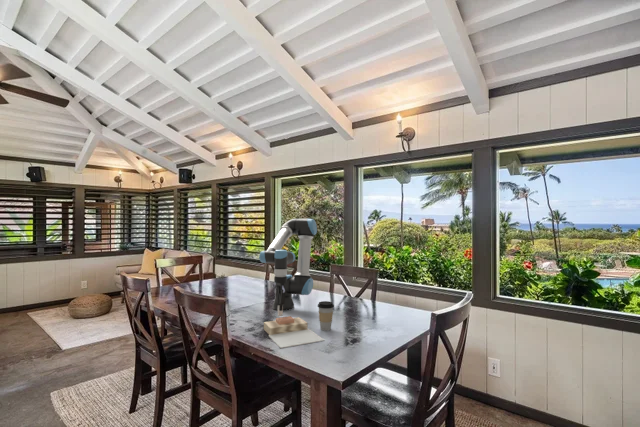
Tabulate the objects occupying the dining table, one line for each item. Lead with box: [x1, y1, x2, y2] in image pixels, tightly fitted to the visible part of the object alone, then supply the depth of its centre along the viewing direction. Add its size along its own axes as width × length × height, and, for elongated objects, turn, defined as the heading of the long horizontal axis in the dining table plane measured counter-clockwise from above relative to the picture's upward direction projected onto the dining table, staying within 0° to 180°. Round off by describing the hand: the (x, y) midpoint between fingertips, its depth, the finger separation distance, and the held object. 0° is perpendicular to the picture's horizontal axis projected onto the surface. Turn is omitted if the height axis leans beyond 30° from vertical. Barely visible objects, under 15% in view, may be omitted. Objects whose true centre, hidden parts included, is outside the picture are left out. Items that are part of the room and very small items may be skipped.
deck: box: [263, 317, 309, 336], centre depth 184 cm, size 22×12×4 cm, turn 117°
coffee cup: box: [317, 300, 335, 332], centre depth 186 cm, size 9×9×15 cm
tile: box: [275, 316, 295, 325], centre depth 185 cm, size 9×6×2 cm, turn 117°
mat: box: [268, 328, 325, 349], centre depth 171 cm, size 24×19×1 cm
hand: (280, 315), depth 192 cm, fingers closed
